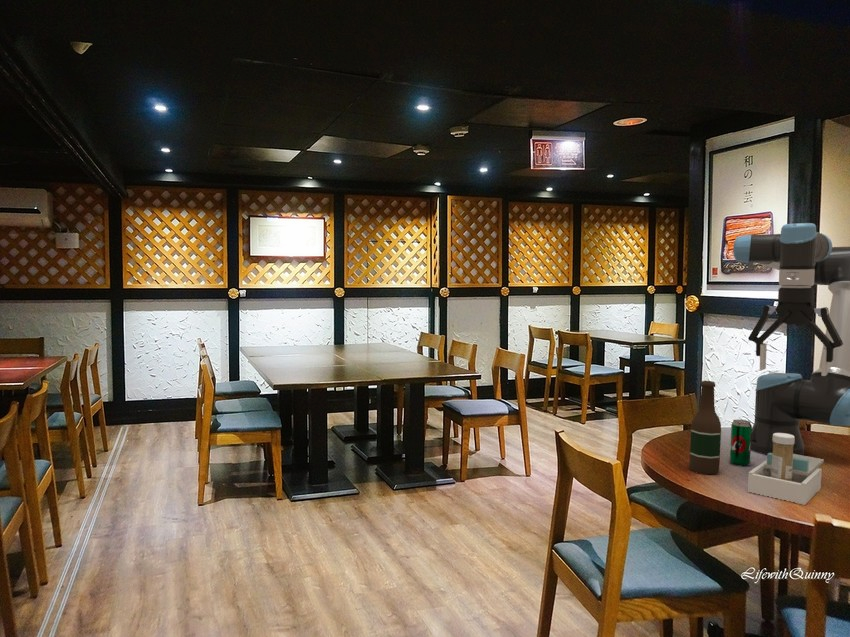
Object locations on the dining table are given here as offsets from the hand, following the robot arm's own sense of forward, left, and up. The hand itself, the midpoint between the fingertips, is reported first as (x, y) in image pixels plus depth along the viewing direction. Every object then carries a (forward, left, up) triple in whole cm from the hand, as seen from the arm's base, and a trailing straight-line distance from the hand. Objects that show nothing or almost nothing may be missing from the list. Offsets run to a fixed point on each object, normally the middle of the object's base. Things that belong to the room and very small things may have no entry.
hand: (792, 372), depth 157 cm
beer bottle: (+5, -19, -28) cm, 34 cm away
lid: (-1, +1, -24) cm, 24 cm away
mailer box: (+7, +1, -28) cm, 29 cm away
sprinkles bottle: (+10, +1, -28) cm, 29 cm away
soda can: (-9, -14, -28) cm, 33 cm away
